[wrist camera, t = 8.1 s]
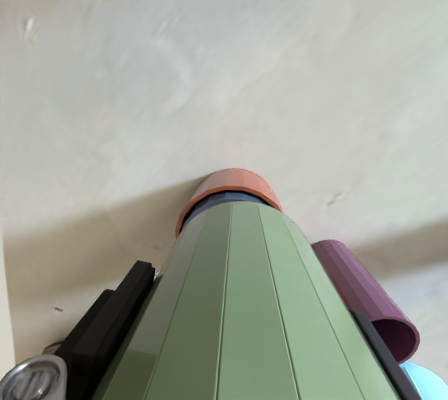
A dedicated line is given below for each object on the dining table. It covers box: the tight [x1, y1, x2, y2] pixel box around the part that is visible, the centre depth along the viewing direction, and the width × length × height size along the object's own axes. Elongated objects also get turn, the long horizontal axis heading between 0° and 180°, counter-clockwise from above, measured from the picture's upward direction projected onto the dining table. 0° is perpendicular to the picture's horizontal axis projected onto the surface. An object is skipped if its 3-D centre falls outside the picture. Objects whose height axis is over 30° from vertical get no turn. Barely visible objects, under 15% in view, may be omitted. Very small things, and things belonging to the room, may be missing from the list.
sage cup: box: [91, 201, 401, 400], centre depth 8 cm, size 8×8×11 cm
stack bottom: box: [176, 168, 284, 239], centre depth 26 cm, size 11×11×8 cm
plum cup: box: [312, 240, 420, 365], centre depth 25 cm, size 6×6×12 cm
